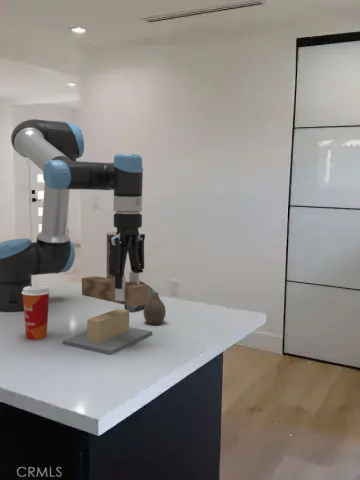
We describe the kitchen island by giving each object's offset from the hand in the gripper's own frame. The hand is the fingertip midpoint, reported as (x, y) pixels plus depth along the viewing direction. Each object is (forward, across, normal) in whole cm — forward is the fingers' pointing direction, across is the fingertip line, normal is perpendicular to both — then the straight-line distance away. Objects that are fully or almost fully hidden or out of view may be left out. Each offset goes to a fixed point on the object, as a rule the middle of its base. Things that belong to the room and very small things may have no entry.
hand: (127, 298), depth 132 cm
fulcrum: (+13, 0, +6) cm, 14 cm away
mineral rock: (+13, +35, +18) cm, 41 cm away
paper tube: (+13, +44, +36) cm, 58 cm away
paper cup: (+13, -9, +25) cm, 29 cm away
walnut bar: (+1, +1, +6) cm, 6 cm away
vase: (+13, +21, +4) cm, 25 cm away
